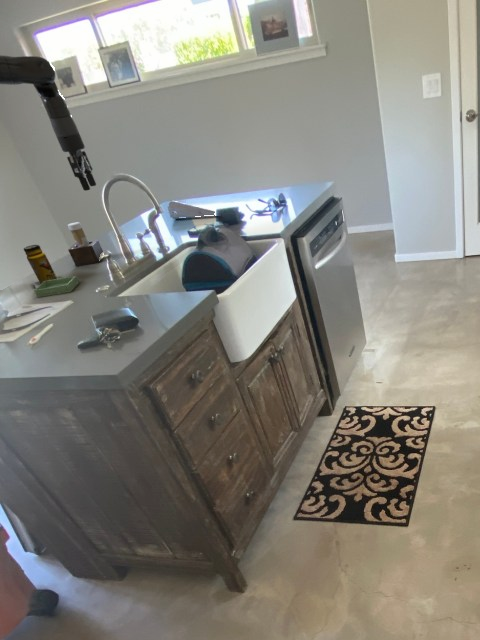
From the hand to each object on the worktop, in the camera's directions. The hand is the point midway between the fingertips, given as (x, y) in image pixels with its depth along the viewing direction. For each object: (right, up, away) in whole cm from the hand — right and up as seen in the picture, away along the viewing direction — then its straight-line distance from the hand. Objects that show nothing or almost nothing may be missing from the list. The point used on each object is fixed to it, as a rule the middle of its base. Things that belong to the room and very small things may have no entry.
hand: (90, 188), depth 189 cm
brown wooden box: (-9, -19, +16) cm, 26 cm away
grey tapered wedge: (+20, +21, +55) cm, 63 cm away
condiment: (-15, -35, -1) cm, 39 cm away
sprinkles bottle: (-9, -19, +16) cm, 26 cm away
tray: (-5, -42, -10) cm, 43 cm away
